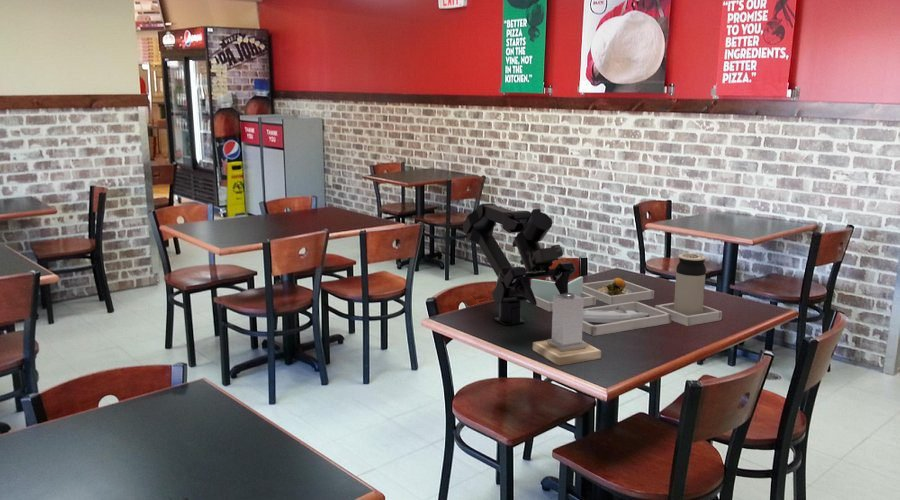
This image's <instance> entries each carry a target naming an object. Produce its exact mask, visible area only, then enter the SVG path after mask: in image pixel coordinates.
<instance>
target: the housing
mask: <svg viewBox="0 0 900 500" xmlns="http://www.w3.org/2000/svg"><path fill="white" fill-rule="evenodd" d="M583 306H584V298H583V297H580V296H578V295H576V294H573V293H563V294H560V295H553V311H552V315H551V316H552V318H551V320H552V321H551V338H548V339H546V340H547V344H548V345H550V346H552V347H553V348H555V349H557V350H559V351H560V352H566V351H573V350H579V349H585V348H586V343H587V342H585V341H584V342H585V343H584V342H582V341H583V331H582V329H583V309H584V307H585V306H584V307H583Z"/></svg>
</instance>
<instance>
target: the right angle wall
mask: <svg viewBox="0 0 900 500" xmlns="http://www.w3.org/2000/svg"><path fill="white" fill-rule="evenodd" d="M555 282H556V281H550V280H545V279H544V280H543V279H538V278H535V279H530V287H531V289H532V292H533V294H534V295H535V296H537V297H540V298H542V299H544V300H546V301H549V302H553V295H560V293H559V291H558V289H557V287H556V286H555ZM583 283H584V277H583V276H579V277H576V278H574V279H572V280H570V281H568V293H573V294H576V295H578V296H580V297H581V292H582V291H583Z"/></svg>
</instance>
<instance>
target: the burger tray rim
mask: <svg viewBox="0 0 900 500" xmlns="http://www.w3.org/2000/svg"><path fill="white" fill-rule="evenodd" d="M611 282H615V281H614V279H608V280H599V281H594V282H593V281H592V282H583V291H582V292H585V293H587V294H590V295H592V296H595V297H596V301H600V302H602V303H605V304H607V305H614V304H620V303H627V302H634V301H637V302H640V301H645V300H653V299H654V298H655V290H652V289H649V288H647V287H644V286H641V285H639V284H638V285H637V284H635V283H633V282H629V281H628V280H627V281H626V280H624V282H625V284H626V286H625V288H629V289H631V290H633V291H634V293H628V294H621V295H614V296H610V295H608V294H605V293H603V292H600V291H597V290H596V289H597V288H599V287H606V286H608V285H609V284H611Z"/></svg>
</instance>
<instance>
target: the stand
mask: <svg viewBox="0 0 900 500" xmlns="http://www.w3.org/2000/svg"><path fill="white" fill-rule="evenodd" d="M582 342H584V343H586V348H585V349H579V350H573V351H566V352H560V351H559V350H557V349H555V348H553V347H552V346H550V345H548V344H547V339H546V340H539V341H533V342H532V350H533V352H536V353H537V354H539V355H540V356H542V357H543V358H545V359H547V360H548V361H551V362H552V363H553V364H555V365H557V366H564V365H565V366H566V365H570V364H576V363H581V362H588V361H594V360H601V358H602V357H601V356H602V350H600V349H599V348H596V347H595V346H593V345H591V344H589V343H587V342H585V341H584V340H582Z"/></svg>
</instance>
